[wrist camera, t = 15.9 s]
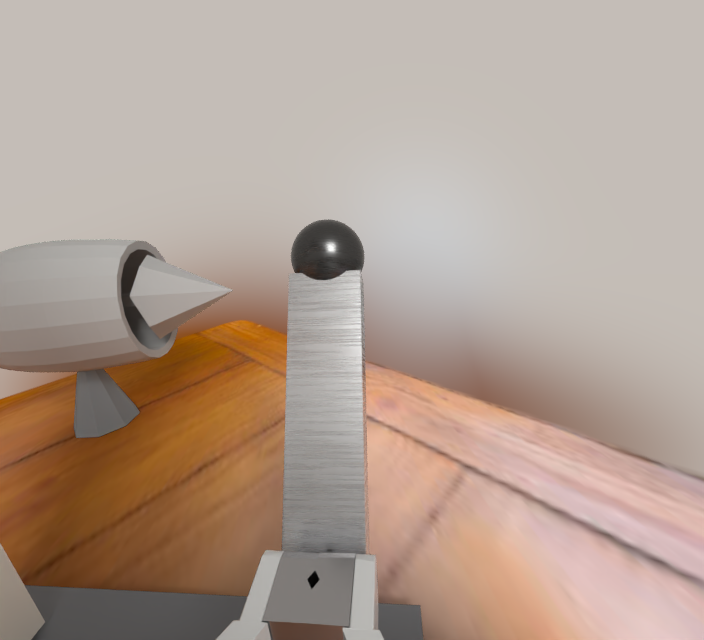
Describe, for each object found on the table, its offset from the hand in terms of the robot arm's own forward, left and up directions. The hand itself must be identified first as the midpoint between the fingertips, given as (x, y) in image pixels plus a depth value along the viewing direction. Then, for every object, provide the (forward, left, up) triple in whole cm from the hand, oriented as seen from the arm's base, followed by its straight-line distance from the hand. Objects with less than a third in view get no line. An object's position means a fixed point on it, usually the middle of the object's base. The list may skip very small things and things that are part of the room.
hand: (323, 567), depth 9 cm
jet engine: (-30, +5, -10) cm, 33 cm away
